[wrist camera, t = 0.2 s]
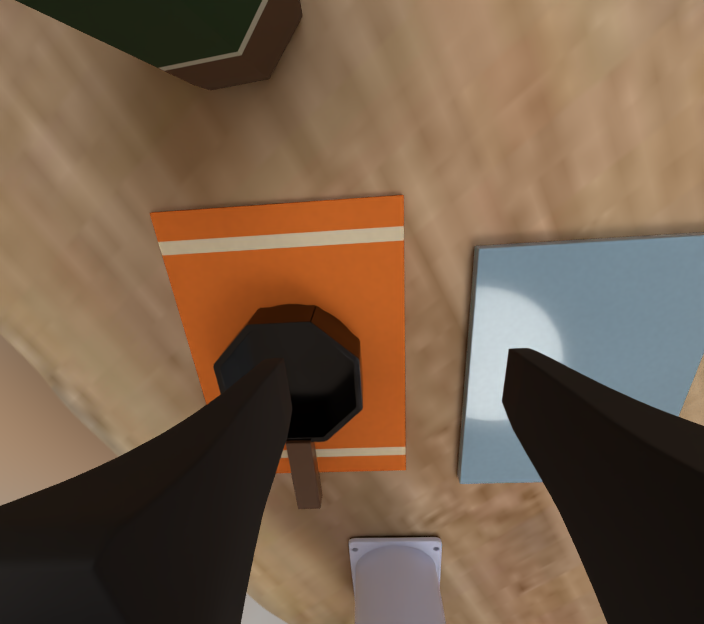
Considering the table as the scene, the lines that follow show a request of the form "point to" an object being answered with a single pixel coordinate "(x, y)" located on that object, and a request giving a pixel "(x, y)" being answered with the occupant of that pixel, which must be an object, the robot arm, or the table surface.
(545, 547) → the table surface
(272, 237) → the tea towel
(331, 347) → the skillet
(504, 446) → the trivet
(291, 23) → the beer bottle
